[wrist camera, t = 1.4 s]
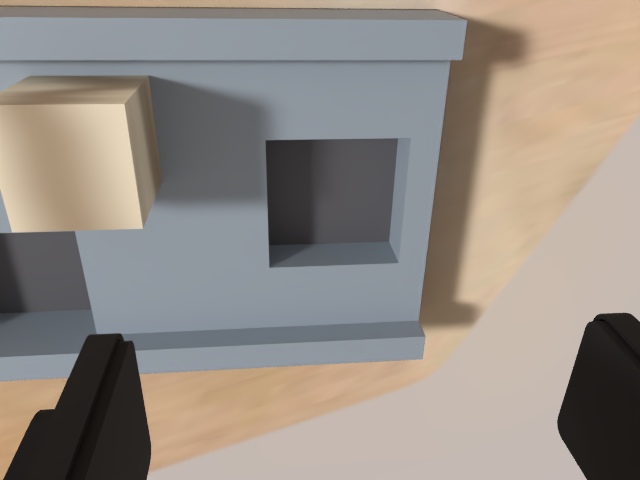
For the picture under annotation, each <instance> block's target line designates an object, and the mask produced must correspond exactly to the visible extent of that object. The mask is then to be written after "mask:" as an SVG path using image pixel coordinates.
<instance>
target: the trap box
mask: <svg viewBox="0 0 640 480" xmlns="http://www.w3.org/2000/svg"><path fill="white" fill-rule="evenodd" d="M466 27H467V20H465V19H462V18H460V17H457V16H454V15H451V14H448V13H445V12H443V11H440V10H437V9H332V8H215V7H98V6H0V92H1V91H3V90H5V89H7V88H9V87H10V86H12V85H14V84H16V83H17V82H19V81H21V80H23V79H24V78H26V77H28V76H99V75H149V82H150V90H151V97H152V105H153V113H154V121H155V129H156V137H157V145H158V153H159V161H160V169H161V177H162V183H161V186H160V188H159V191H158V193H157V196H156V198H155V200H154V203H153V205H152V208H151V210H150V213H149V215H148V218H147V220H146V223H145V225H144V227H143V229H117V230H81V231H46V232H12V230H11V226H10V223H9V219H8V215H7V212H6V208H5V205H4V201H3V197H2V194H1V190H0V381H16V380H35V379H54V378H69V376H70V373H71V371H72V369H73V367H74V364H75V362H76V360H77V358H78V355H79V353H80V351H81V348H82V346H83V344H84V342H85V339H86V338H87V336H88V335H90V334H113V333H120V334H122V336H123V339H124V341H133V343H134V347H135V352H136V358H137V364H138V370H139V374H150V373H169V372H188V371H207V370H226V369H245V368H264V367H283V366H302V365H321V364H340V363H359V362H378V361H398V360H417V359H423V352H424V344H425V334H424V332H423V330H422V327H421V325H420V323H419V313H420V305H421V297H422V289H423V281H424V273H425V265H426V256H427V248H428V240H429V232H430V224H431V216H432V208H433V200H434V191H435V183H436V175H437V167H438V159H439V151H440V143H441V135H442V127H443V118H444V110H445V102H446V94H447V86H448V78H449V70H450V62H451V60H462V57H463V50H464V42H465V35H466Z"/></svg>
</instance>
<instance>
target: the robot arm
mask: <svg viewBox="0 0 640 480" xmlns="http://www.w3.org/2000/svg"><path fill="white" fill-rule="evenodd" d="M557 423H558V430H559V433H560V436H561V438H562V440H563V441H564V443H565V444H566V446H567V448H568V449H569V451H570V452H571V454H572V456H573V457H574V459H575V461H576V462H577V464H578V466H579V467H580V469H581V470H582V472H583V473H584V475H585V477H586V479H587V480H640V322H639V321H638V320H637V319H636V318H635V317H634V316H633V315H631V314H629V313H612V314H610V313H609V314H599V315H597V316H596V317H595V318H594V320H593V321H592V322H589V323H588V324H587V326H586V328H585V331H584V335H583V338H582V341H581V344H580V347H579V351H578V354H577V357H576V360H575V364H574V367H573V370H572V374H571V377H570V380H569V384H568V387H567V390H566V393H565V396H564V400H563V403H562V406H561V409H560V413H559V416H558V421H557ZM150 459H151V442H150V435H149V430H148V424H147V418H146V412H145V406H144V400H143V394H142V388H141V382H140V376H139V370H138V364H137V358H136V352H135V347H134V343H133V341H124V339H123V336H122V334H120V333H113V334H90V335H88V336H87V338H86V339H85V342H84V344H83V346H82V348H81V351H80V353H79V355H78V358H77V360H76V362H75V364H74V367H73V369H72V371H71V373H70V376H69V378H68V380H67V383H66V385H65V387H64V389H63V392H62V394H61V396H60V398H59V401H58V403H57V405H56V408H55V409H49V410H40V411H39V412H37V413H36V414H35V416H34V417H33V419H32V421H31V423H30V425H29V427H28V429H27V431H26V433H25V435H24V437H23V439H22V441H21V443H20V446H19V448H18V450H17V452H16V454H15V456H14V458H13V460H12V462H11V464H10V466H9V469H8V471H7V473H6V475H5V477H4V479H3V480H146V479H147V475H148V470H149V465H150Z"/></svg>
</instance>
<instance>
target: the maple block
mask: <svg viewBox="0 0 640 480" xmlns="http://www.w3.org/2000/svg"><path fill="white" fill-rule="evenodd" d="M161 183H162V177H161V169H160V161H159V153H158V145H157V137H156V129H155V121H154V113H153V105H152V97H151V90H150V82H149V75H99V76H28V77H26V78H24V79H23V80H21V81H19V82H17V83H16V84H14V85H12V86H10V87H9V88H7V89H5V90H3V91H1V92H0V190H1V194H2V197H3V201H4V205H5V208H6V212H7V215H8V219H9V223H10V226H11V230H12V232H46V231H81V230H117V229H143V227H144V225H145V223H146V220H147V218H148V215H149V213H150V210H151V208H152V205H153V203H154V200H155V198H156V196H157V193H158V191H159V188H160V186H161Z"/></svg>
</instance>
